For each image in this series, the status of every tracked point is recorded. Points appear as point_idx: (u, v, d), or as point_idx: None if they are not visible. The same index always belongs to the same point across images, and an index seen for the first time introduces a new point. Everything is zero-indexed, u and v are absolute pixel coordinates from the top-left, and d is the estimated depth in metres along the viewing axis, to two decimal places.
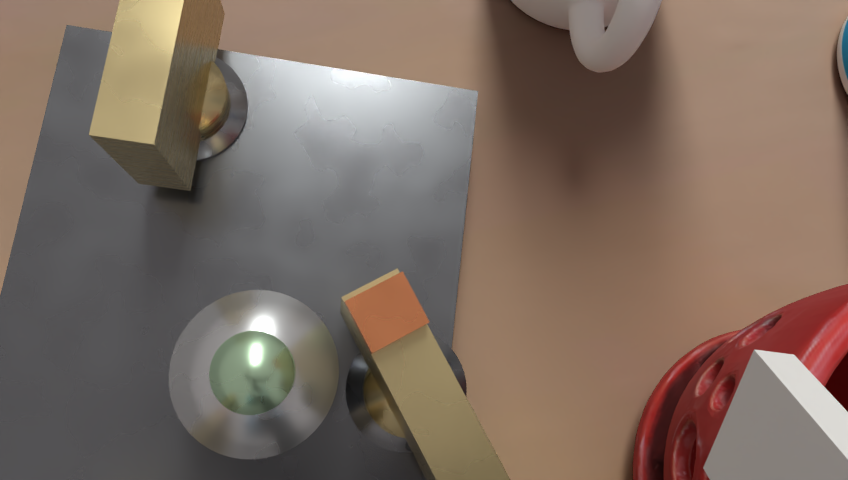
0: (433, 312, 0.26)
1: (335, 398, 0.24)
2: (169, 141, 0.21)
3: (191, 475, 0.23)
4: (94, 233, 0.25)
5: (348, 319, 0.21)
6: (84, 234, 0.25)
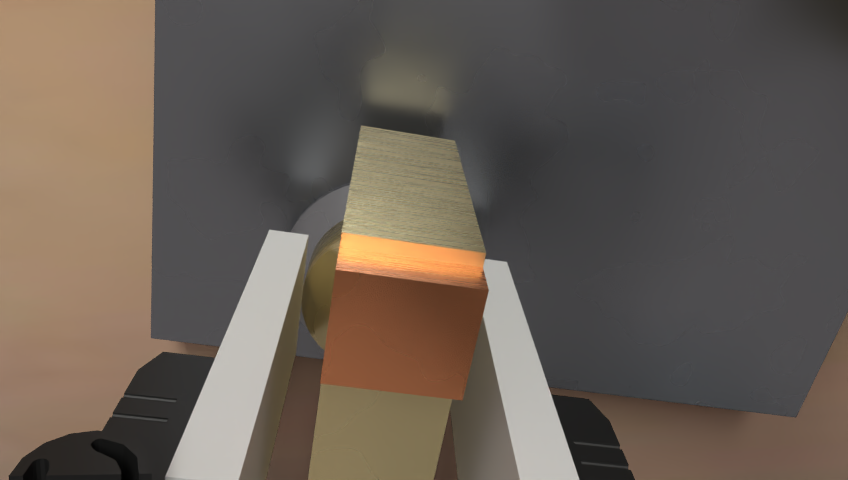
0: None
1: None
2: None
3: (554, 24, 0.13)
4: None
5: None
6: None
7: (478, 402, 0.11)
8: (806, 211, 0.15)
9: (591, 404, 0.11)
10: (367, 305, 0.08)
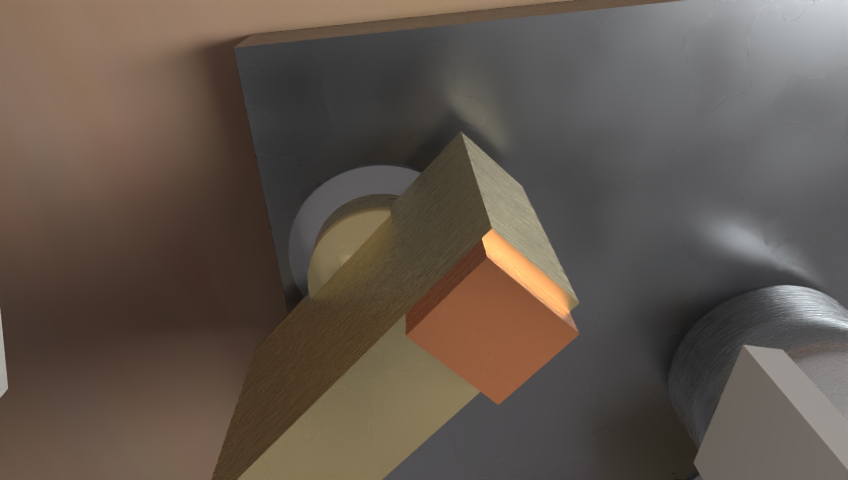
0: None
1: None
2: None
3: (625, 318, 0.17)
4: None
5: None
6: None
7: None
8: None
9: None
10: (488, 296, 0.09)
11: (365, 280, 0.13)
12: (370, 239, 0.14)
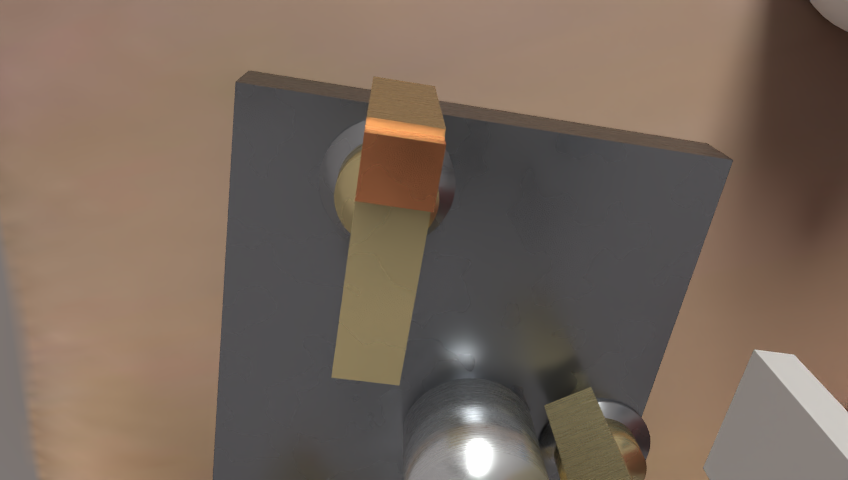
0: (630, 387, 0.26)
1: None
2: None
3: None
4: (298, 315, 0.24)
5: None
6: (289, 316, 0.24)
7: None
8: None
9: None
10: None
11: None
12: None
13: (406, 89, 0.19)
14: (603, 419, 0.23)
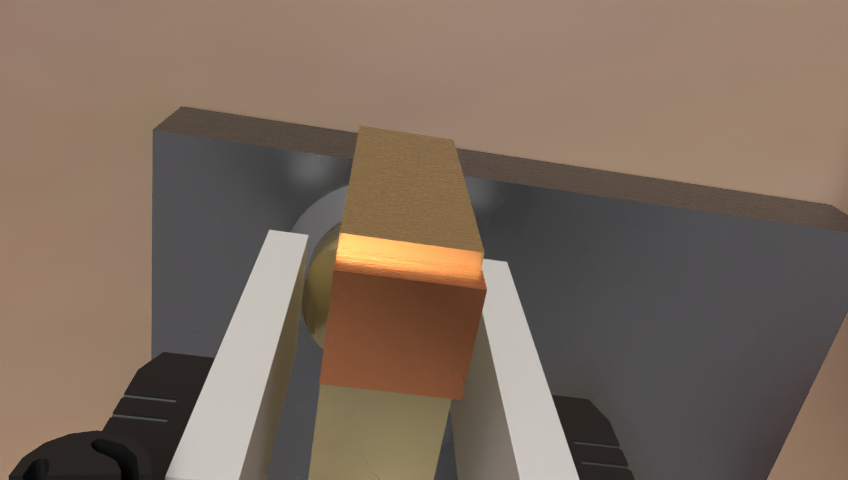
0: None
1: None
2: None
3: None
4: None
5: None
6: None
7: (478, 402, 0.11)
8: None
9: (590, 405, 0.11)
10: None
11: None
12: None
13: (410, 151, 0.12)
14: None
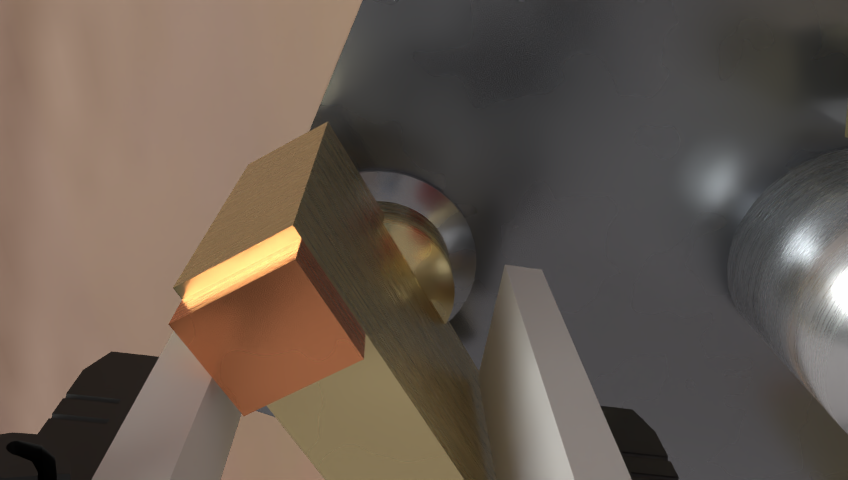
0: None
1: None
2: None
3: None
4: None
5: None
6: None
7: (521, 412, 0.11)
8: None
9: (634, 414, 0.11)
10: None
11: None
12: None
13: (280, 160, 0.12)
14: None
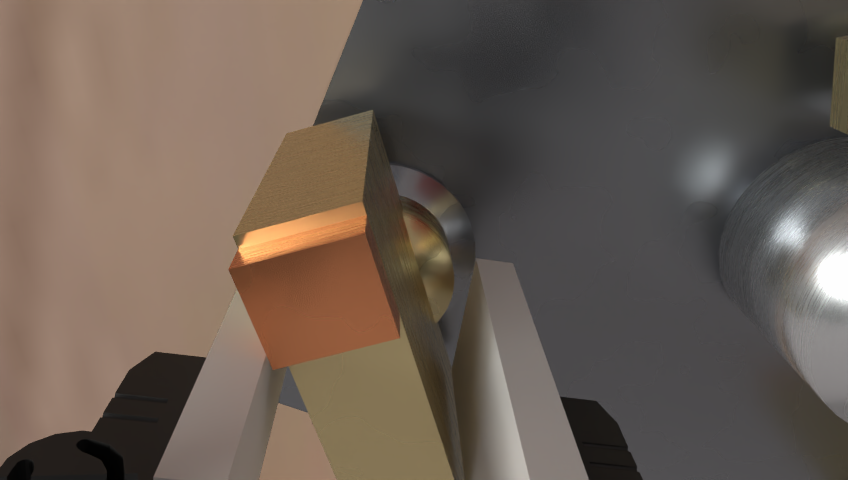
0: None
1: None
2: None
3: None
4: None
5: None
6: None
7: (485, 404, 0.11)
8: None
9: (598, 405, 0.11)
10: None
11: None
12: None
13: (326, 137, 0.13)
14: None
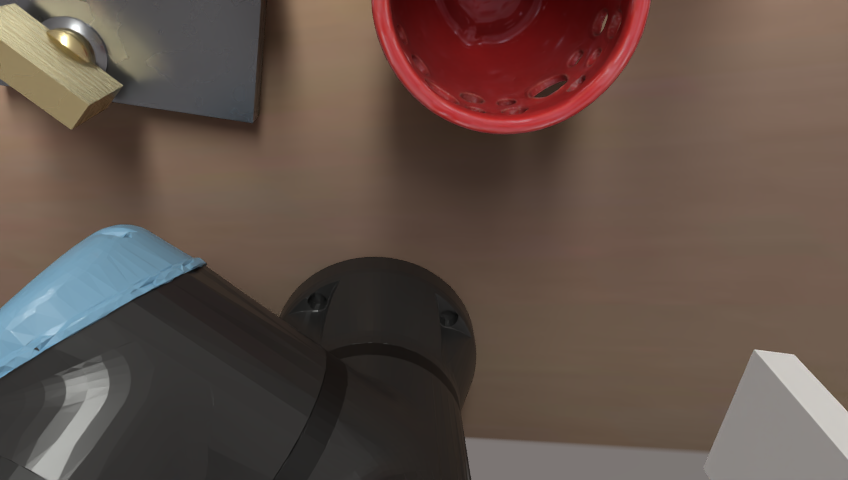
0: None
1: None
2: None
3: None
4: None
5: None
6: None
7: None
8: (224, 30, 0.41)
9: None
10: None
11: None
12: None
13: None
14: None
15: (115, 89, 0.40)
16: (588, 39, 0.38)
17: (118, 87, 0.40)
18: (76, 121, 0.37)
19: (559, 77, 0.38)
